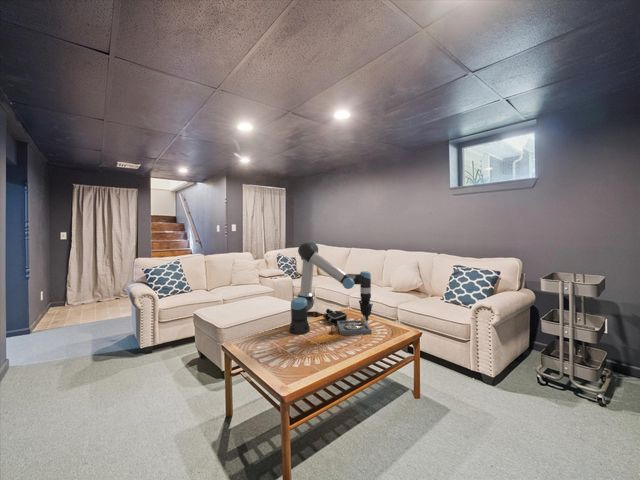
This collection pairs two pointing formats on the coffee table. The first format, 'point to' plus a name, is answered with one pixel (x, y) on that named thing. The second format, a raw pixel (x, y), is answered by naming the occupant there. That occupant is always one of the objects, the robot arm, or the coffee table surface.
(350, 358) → the coffee table surface
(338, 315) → the film camera
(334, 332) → the screwdriver
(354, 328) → the dial
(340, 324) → the panel
